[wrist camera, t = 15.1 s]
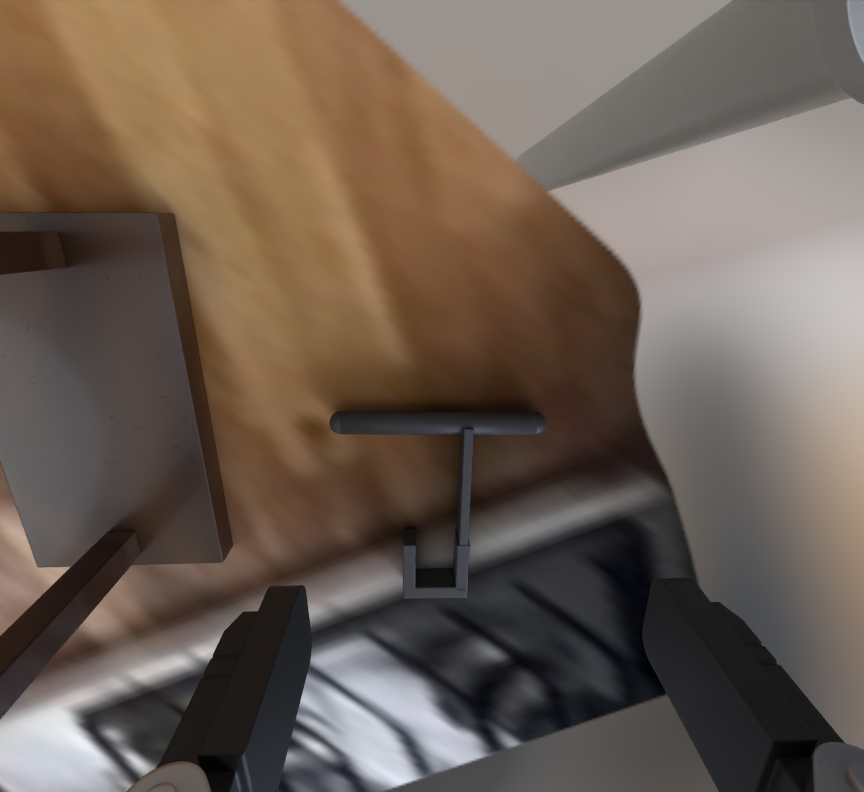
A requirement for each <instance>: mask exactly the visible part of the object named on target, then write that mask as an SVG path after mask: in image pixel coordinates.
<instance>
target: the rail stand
mask: <svg viewBox="0 0 864 792" xmlns="http://www.w3.org/2000/svg"><path fill="white" fill-rule="evenodd" d="M0 463H1V465H2V468H3V471H4V474H5V477H6V480H7V482H8V485H9V488H10V491H11V494H12V496H13V499H14V502H15V505H16V508H17V511H18V513H19V516H20V519H21V522H22V525H23V528H24V530H25V533H26V536H27V539H28V542H29V544H30V547H31V550H32V553H33V556H34V559H35V561H36V564H37V567H70V566H72V567H71V568H70V569H69V570H67V571H66V572H65V573H64V574H63V575H62V576H61V577H60V578H59V579H58V580H57V581H56V582H55V583H54V584H53V585H52V586H51V587H50V588H49V589H48V590H47V591H46V592H45V593H44V594H43V595H42V596H41V597H40V598H39V599H38V600H37V601H36V602H35V603H34V604H33V605H32V606H31V607H30V608H28V609H27V610H26V611H25V612H24V613H23V614H22V615H21V616H20V617H19V618H18V619H17V620H16V621H15V622H14V623H13V624H12V625H11V626H10V627H9V628H8V629H7V630H6V631H5V632H4V633H3V634H2V635H1V636H0V719H1V718H2V717H3V716H4V714H5V713H6V712H7V711H8V710H9V709H10V707H11V706H12V705H13V704H14V703H15V701H16V700H17V699H18V698H19V697H20V696H21V694H22V693H23V692H24V691H25V690H26V689H27V687H28V686H29V685H30V684H31V683H32V682H33V680H34V679H35V678H36V677H37V676H38V674H39V673H40V672H41V671H42V670H43V669H44V667H45V666H46V665H47V664H48V663H49V662H50V660H51V659H52V658H53V657H54V656H55V654H56V653H57V652H58V651H59V650H60V649H61V647H62V646H63V645H64V644H65V643H66V642H67V640H68V639H69V638H70V637H71V636H72V634H73V633H74V632H75V631H76V630H77V629H78V627H79V626H80V625H81V624H82V623H83V622H84V620H85V619H86V618H87V617H88V616H89V614H90V613H91V612H92V611H93V610H94V609H95V607H96V606H97V605H98V604H99V603H100V602H101V600H102V599H103V598H104V597H105V596H106V594H107V593H108V592H109V591H110V590H111V589H112V587H113V586H114V585H115V584H116V583H117V582H118V580H119V579H120V578H121V577H122V576H123V574H124V573H125V572H126V571H127V570H128V569H129V567H130V566H131V565H148V564H186V563H222V562H224V560H225V558H226V556H227V555H228V553H229V551H230V550H231V548H232V546H233V544H232V538H231V533H230V527H229V521H228V516H227V510H226V504H225V499H224V493H223V487H222V482H221V476H220V470H219V465H218V459H217V453H216V448H215V442H214V436H213V431H212V425H211V419H210V414H209V408H208V402H207V397H206V391H205V385H204V380H203V374H202V368H201V363H200V357H199V351H198V346H197V340H196V334H195V329H194V323H193V318H192V312H191V306H190V301H189V295H188V289H187V284H186V278H185V272H184V267H183V261H182V255H181V250H180V244H179V238H178V233H177V227H176V221H175V216H174V214H171V213H158V212H0Z"/></svg>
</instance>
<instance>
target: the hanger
mask: <svg viewBox="0 0 864 792" xmlns="http://www.w3.org/2000/svg"><path fill="white" fill-rule="evenodd" d="M330 427H331V429H332V430H333V431H334V432H335V433H337V434H446V435H461V441H460V464H459V488H458V511H457V528H456V529H455V543H454V567H453V569H416V529H404V535H403V597H404V598H466V597H467V587H468V569H469V550H470V544H469V538H468V536H469V517H470V498H471V479H472V460H473V441H474V435H536V434H540V433H541V432H543V431H544V429H545V427H546V419H545V417H544V416H543V415H542V414H541V413H539V412H497V411H338V412H336V413H334V414H333V415H332V416H331V418H330Z"/></svg>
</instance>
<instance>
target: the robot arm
mask: <svg viewBox="0 0 864 792" xmlns="http://www.w3.org/2000/svg"><path fill="white" fill-rule="evenodd" d="M642 634H643V643H644V648H645V651H646V654H647V657H648V659H649V661H650V663H651V665H652V667H653V669H654V670H655V672H656V674H657V676H658V678H659V680H660V682H661V684H662V685H663V687H664V689H665V691H666V693H667V695H668V697H669V699H670V700H671V702H672V704H673V706H674V708H675V710H676V712H677V714H678V715H679V717H680V719H681V721H682V723H683V725H684V727H685V728H686V731H687V732H688V734H689V736H690V738H691V740H692V742H693V744H694V745H695V748H696V749H697V751H698V753H699V755H700V757H701V759H702V761H703V763H704V765H705V766H706V768H707V770H708V772H709V774H710V776H711V778H712V780H713V782H714V783H715V785H716V787H717V789H718V791H719V792H864V750H863V749H860V748H858V747H855V746H852V745H849V744H846V743H845V742H844V741H843V740H842V739H841V738H840V737H839V736H838V735H837V733H836V732H835V731H834V730H833V728H832V727H831V726H830V725H829V724H828V723H827V721H826V720H825V719H824V718H823V716H822V715H821V714H820V713H819V712H818V710H817V709H816V708H815V707H814V705H813V704H812V703H811V702H810V701H809V700H808V698H807V697H806V696H805V695H804V693H803V692H802V691H801V690H800V688H799V687H798V686H797V685H796V684H795V682H794V681H793V680H792V679H791V678H790V676H789V675H788V674H787V673H786V672H785V670H784V669H783V668H782V667H781V666H780V665H777V663H776V659H775V658H774V657H773V656H772V655H771V653H770V652H769V651H768V650H767V649H766V647H765V646H764V647H763V646H762V645H761V641H760V640H759V639H758V638H757V636H756V635H755V634H754V633H753V632H752V630H751V629H750V628H749V627H748V626H747V625H746V623H745V622H744V621H743V620H742V619H741V618H739V617H738V616H737V615H735V614H734V613H733V612H731V611H730V610H729V609H727V608H726V607H725V606H723V605H722V604H721V603H719V602H710V601H709V600H708V598H707V597H706V595H705V594H704V593H703V592H702V590H701V589H700V588H699V587H698V585H697V584H696V583H695V582H694V581H693V580H692V579H690V578H668V579H655V580H654V581H653V582H652V584H651V589H650V594H649V599H648V604H647V609H646V614H645V619H644V624H643V633H642ZM311 647H312V637H311V628H310V620H309V612H308V604H307V596H306V590H305V587H304V586H303V585H300V586H271V587H269V588H268V590H267V592H266V594H265V596H264V599H263V601H262V603H261V606H260V608H259V610H258V611H256V612H243V613H242V614H241V615H240V616H239V617H238V618H237V619H236V620H235V621H234V622H233V623H232V624H231V625H230V626H229V627H228V628H227V629H226V630H225V631H224V633H223V635H222V637H221V639H220V641H219V643H218V645H217V647H216V649H215V651H214V654H213V658H212V659H211V660H210V662H209V664H208V666H207V668H206V670H205V672H204V677H203V679H201V680H200V682H199V684H198V686H197V688H196V690H195V693H194V695H193V697H192V699H191V701H190V703H189V705H188V707H187V709H186V711H185V713H184V715H183V717H182V719H181V721H180V723H179V725H178V727H177V729H176V731H175V734H174V736H173V738H172V740H171V742H170V744H169V746H168V748H167V750H166V752H165V754H164V756H163V758H162V759H161V761H160V763H159V765H158V766H157V767H156V769H154V770H152V771H151V772H149V773H148V774H146V775H145V776H143V777H142V778H141V779H139V780H138V781H137V782H136V783H135V784H134V785H133V786H132V787H131V788H130V789H129V790H128V791H127V792H277V790H278V786H279V782H280V778H281V775H282V771H283V767H284V763H285V759H286V755H287V751H288V747H289V743H290V739H291V735H292V731H293V727H294V723H295V720H296V716H297V712H298V708H299V704H300V700H301V696H302V692H303V688H304V684H305V680H306V676H307V672H308V668H309V664H310V658H311Z"/></svg>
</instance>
